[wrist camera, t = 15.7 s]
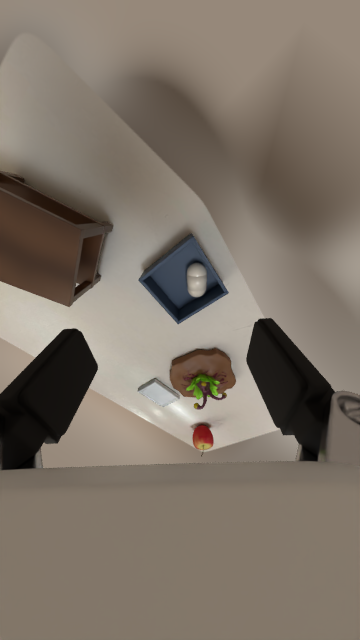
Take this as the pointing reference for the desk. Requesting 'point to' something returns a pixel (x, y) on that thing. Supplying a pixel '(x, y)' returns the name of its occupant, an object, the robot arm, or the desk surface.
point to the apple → (202, 438)
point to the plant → (202, 375)
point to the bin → (181, 280)
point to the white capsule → (196, 279)
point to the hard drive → (158, 393)
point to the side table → (46, 243)
